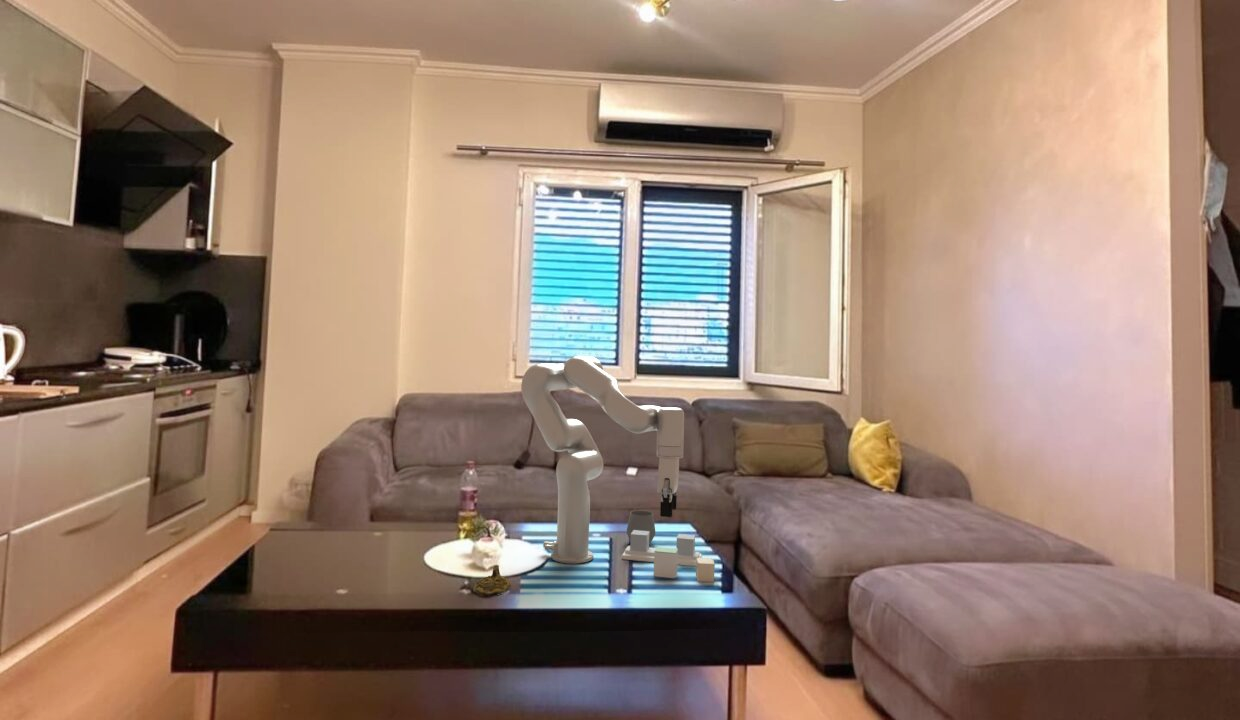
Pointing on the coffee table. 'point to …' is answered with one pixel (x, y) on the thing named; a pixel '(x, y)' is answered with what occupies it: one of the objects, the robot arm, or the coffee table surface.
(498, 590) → the seal
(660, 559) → the module
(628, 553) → the rail board
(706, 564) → the block
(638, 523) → the cup
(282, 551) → the coffee table surface
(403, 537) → the coffee table surface
